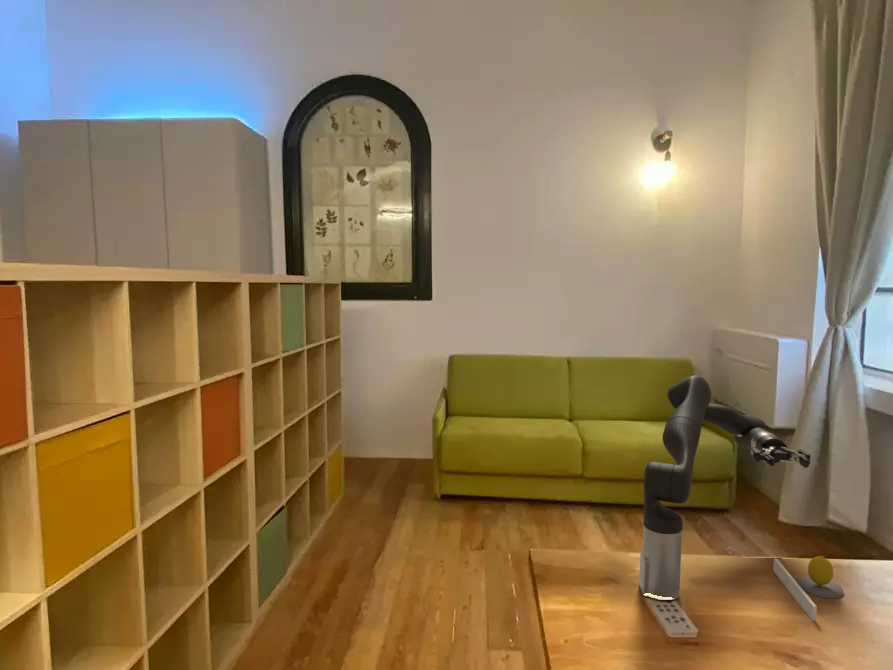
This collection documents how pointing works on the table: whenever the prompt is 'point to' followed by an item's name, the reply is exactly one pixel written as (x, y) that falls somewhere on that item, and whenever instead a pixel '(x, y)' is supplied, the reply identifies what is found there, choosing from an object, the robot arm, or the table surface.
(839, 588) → the slate mat
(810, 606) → the low wall
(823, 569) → the lemon
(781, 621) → the table surface
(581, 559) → the table surface
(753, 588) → the table surface
